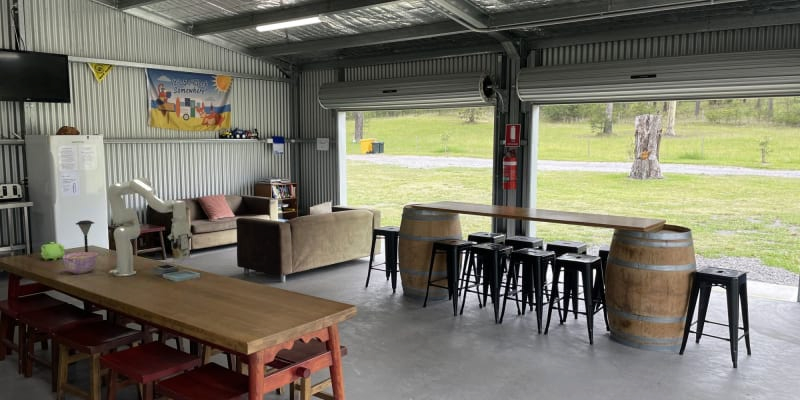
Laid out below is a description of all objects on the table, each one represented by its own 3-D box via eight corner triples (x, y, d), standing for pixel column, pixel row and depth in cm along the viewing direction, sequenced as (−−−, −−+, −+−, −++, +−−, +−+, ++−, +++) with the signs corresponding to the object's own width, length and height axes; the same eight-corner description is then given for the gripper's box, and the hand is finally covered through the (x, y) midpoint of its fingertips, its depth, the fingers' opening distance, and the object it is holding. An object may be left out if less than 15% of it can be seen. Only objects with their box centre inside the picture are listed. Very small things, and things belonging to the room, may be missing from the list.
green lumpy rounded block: (66, 259, 414) (65, 242, 412) (43, 262, 405) (42, 244, 404) (63, 256, 426) (62, 239, 425) (40, 258, 417) (40, 241, 416)
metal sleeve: (164, 277, 360) (163, 269, 359) (153, 274, 368) (153, 266, 368) (178, 274, 368) (178, 266, 367) (168, 271, 376) (168, 264, 375)
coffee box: (190, 258, 358) (188, 233, 356) (182, 261, 352) (180, 235, 350) (180, 257, 362) (178, 233, 360) (172, 259, 356) (170, 234, 355)
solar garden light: (93, 260, 412) (91, 219, 409) (99, 262, 404) (97, 221, 401) (74, 262, 403) (72, 220, 401) (80, 265, 395) (78, 222, 392)
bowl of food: (67, 277, 358) (66, 259, 357) (60, 272, 373) (59, 254, 372) (101, 272, 371) (100, 255, 370) (93, 267, 386) (93, 251, 385)
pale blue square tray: (176, 282, 347) (176, 278, 347) (163, 278, 357) (162, 274, 357) (200, 277, 359) (199, 273, 359) (186, 273, 369) (186, 270, 369)
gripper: (169, 222, 345) (170, 250, 347) (195, 219, 359) (196, 246, 361) (163, 221, 350) (164, 249, 352) (189, 218, 364) (190, 245, 365)
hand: (180, 247), depth 356 cm, fingers closed on coffee box, 7 cm apart
